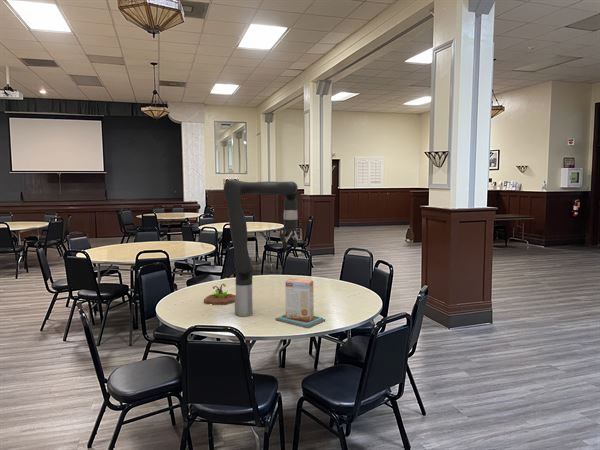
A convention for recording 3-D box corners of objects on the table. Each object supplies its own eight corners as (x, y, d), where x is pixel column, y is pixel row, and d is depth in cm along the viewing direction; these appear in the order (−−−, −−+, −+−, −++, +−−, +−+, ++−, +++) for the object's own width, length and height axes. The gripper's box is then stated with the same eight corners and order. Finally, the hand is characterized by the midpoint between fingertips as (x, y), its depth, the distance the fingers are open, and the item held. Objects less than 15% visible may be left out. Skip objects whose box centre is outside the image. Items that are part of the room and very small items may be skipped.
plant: (230, 306, 260) (230, 288, 259) (200, 304, 264) (199, 286, 263) (241, 297, 280) (241, 280, 279) (212, 296, 284) (212, 279, 282)
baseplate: (275, 320, 232) (275, 316, 232) (293, 313, 244) (293, 310, 244) (308, 328, 219) (308, 324, 219) (325, 321, 230) (325, 317, 230)
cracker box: (314, 318, 231) (313, 280, 229) (309, 322, 226) (309, 282, 224) (290, 315, 237) (289, 278, 235) (285, 318, 231) (285, 280, 229)
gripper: (287, 219, 228) (287, 250, 229) (304, 218, 239) (303, 247, 240) (276, 218, 232) (276, 248, 234) (293, 217, 243) (293, 246, 245)
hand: (290, 248), depth 237 cm, fingers open, 8 cm apart
